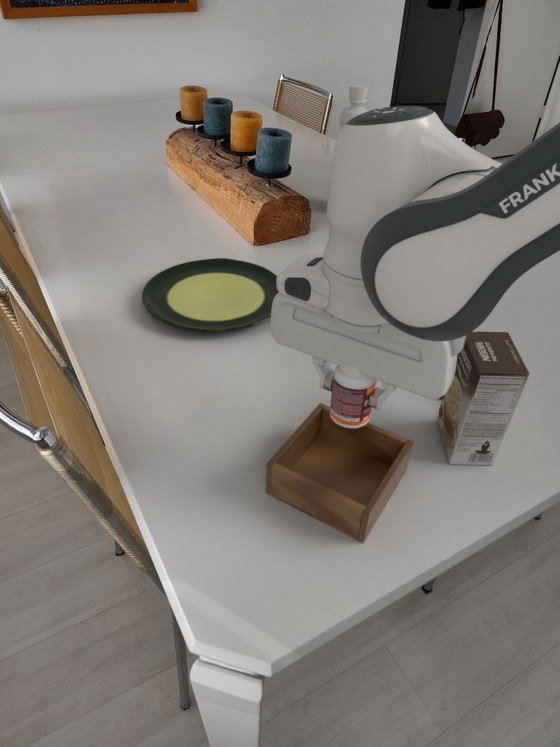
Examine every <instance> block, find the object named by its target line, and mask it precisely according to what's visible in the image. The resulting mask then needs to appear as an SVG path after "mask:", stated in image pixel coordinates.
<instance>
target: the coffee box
mask: <svg viewBox="0 0 560 747" xmlns="http://www.w3.org/2000/svg"><path fill="white" fill-rule="evenodd" d="M530 374H531V373H530V371H529V369H528V367H527V366H526V364H525V362H524V360H523V358H522V356H521V354H520V352H519V351H518V349H517V347H516V345H515V343H514V341H513V339H512V337H511V335H510V333H509V332H508V331H482V330H480V331H479V330H478V331H472V332H471V333H469V334H467V337H466V341H465V344H464V348H463V350H462V351H461V352H460V353H459V354H457V363H456V370H455V375H454V379H453V382H452V384H451V386H450V387H449V389H448V391H447V392H446V394H445V395H444V396H443V398H441V400H440V405H439V409H438V411H437V414H436V415H437V416H436V419H435V421H436V424H437V429H438V432H439V434H440V439H441V441H442V445H443V449H444V452H445V456H446V459H447V462H448V464H449V465H467V466H468V465H469V466H493V465H494V462H495V460H496V458H497V455H498V452H499V450H500V448H501V446H502V443H503V440H504V438H505V435H506V432H507V430H508V428H509V425H510V423H511V421H512V418H513V416H514V413H515V410H516V409H517V405H518V403H519V401H520V398H521V396H522V393H523V391H524V388H525V386H526V385H527V384H526V383H527V381H528V379H529V376H530Z"/></svg>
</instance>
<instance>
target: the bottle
mask: <svg viewBox="0 0 560 747" xmlns="http://www.w3.org/2000/svg"><path fill="white" fill-rule="evenodd" d="M348 89H349V90H348V92H349V96H348V98H349V99H347V101H348V102H349V104H350V106H348V107H346V108H344V109H343V110H342V111H341V114H340V115H339V126H340V130H339V131H340V132H341V129H342V128H343V126H344V125H345V124H346V123H347V122H348V121H349V120H351V119H352V118H354V117H356V116H358V115H360V114H362V113H365V112H368V111H369V110H368V109H366V108H365V107H364V105H365V104H366V102H368V101H367V96H368V92H369V86H368V85H366V84H360V83H355V84H349V88H348ZM340 132H339V133H340Z"/></svg>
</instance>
